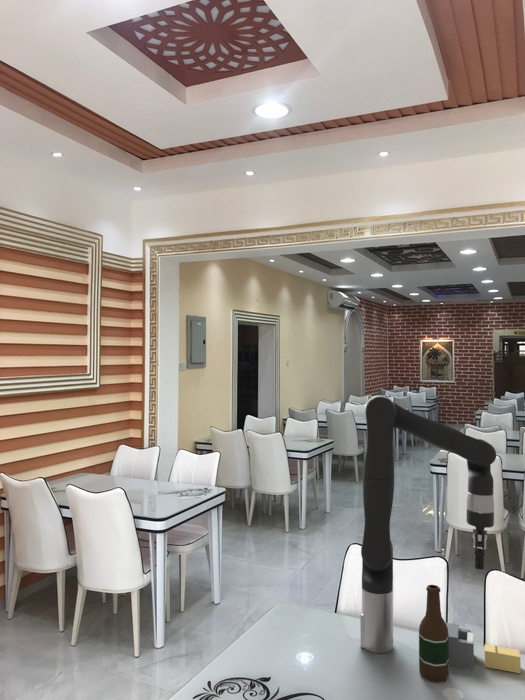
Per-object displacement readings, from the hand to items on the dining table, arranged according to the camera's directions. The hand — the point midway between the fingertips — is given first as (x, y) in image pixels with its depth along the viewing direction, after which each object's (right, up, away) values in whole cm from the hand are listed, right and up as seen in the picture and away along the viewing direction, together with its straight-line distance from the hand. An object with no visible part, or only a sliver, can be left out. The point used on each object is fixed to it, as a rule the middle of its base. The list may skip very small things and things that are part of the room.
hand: (479, 563), depth 161 cm
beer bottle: (-17, -26, -11) cm, 33 cm away
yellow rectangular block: (+3, -26, -8) cm, 27 cm away
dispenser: (-9, -26, -3) cm, 28 cm away
